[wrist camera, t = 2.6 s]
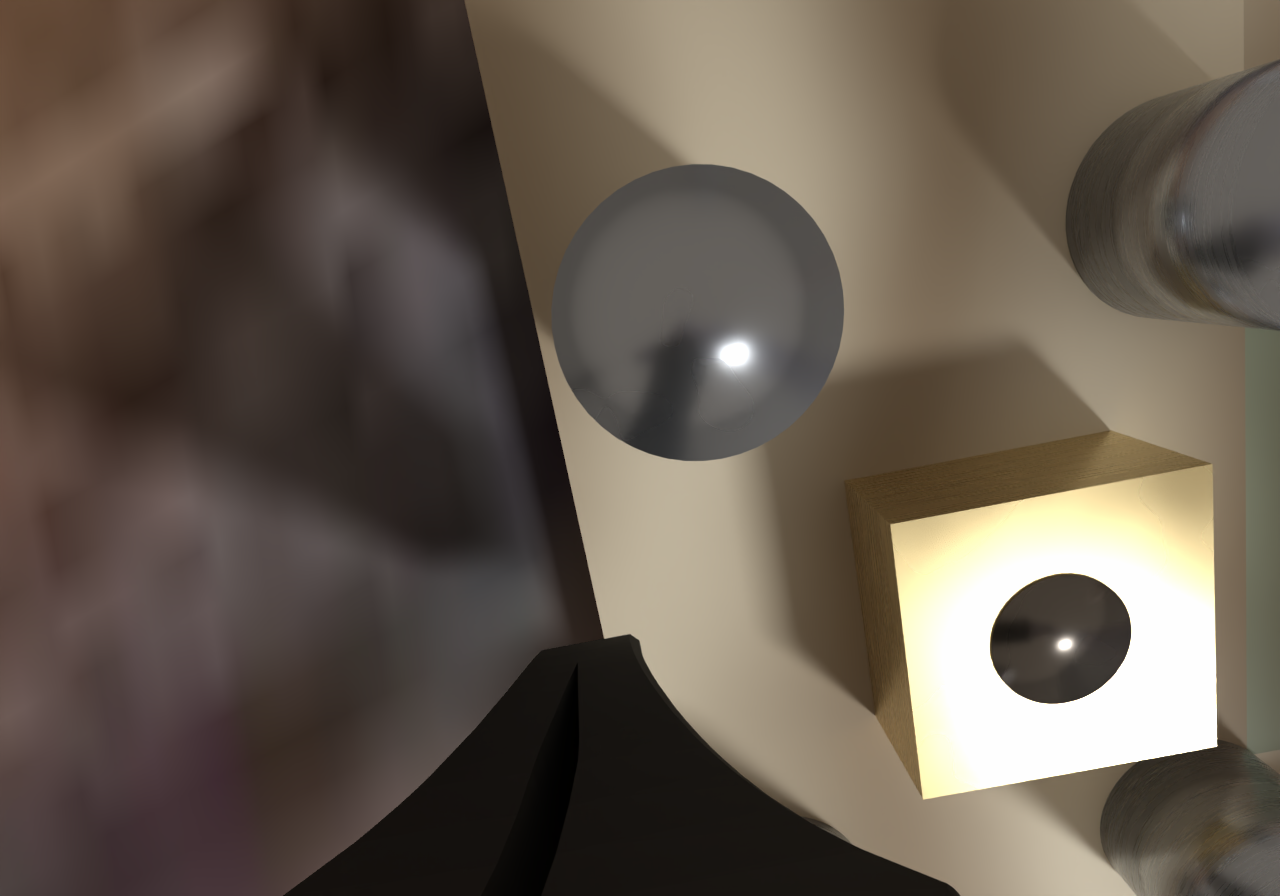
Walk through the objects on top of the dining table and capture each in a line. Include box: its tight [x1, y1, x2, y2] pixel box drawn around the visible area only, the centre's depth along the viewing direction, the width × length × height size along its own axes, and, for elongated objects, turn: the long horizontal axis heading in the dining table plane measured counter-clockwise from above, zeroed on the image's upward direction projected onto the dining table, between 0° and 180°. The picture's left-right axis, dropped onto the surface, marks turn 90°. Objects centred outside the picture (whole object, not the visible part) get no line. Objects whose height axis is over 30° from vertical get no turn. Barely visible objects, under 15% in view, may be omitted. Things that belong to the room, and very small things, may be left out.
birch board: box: [464, 0, 1280, 896], centre depth 12 cm, size 14×19×1 cm
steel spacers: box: [551, 59, 1280, 896], centre depth 11 cm, size 13×16×3 cm
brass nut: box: [844, 430, 1217, 800], centre depth 11 cm, size 4×4×2 cm
